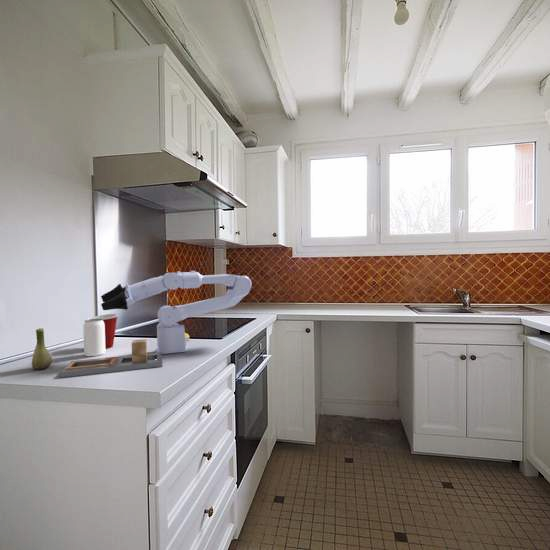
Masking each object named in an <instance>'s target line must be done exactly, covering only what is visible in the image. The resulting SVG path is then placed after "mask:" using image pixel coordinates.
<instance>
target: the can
mask: <svg viewBox="0 0 550 550" xmlns="http://www.w3.org/2000/svg"><path fill="white" fill-rule="evenodd" d="M82 328H83V332H82V333H83V353H84V356H85V357H86V356H87V357H88V358H92V357H91V356H94V357H99V355H100V356H102V355H105V353H106V352H107V351H106V349H107V348H106V349H105V324H104V322H103V319H89V320H87V319H85V320H84V323H83V325H82Z"/></svg>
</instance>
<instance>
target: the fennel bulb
mask: <svg viewBox="0 0 550 550" xmlns="http://www.w3.org/2000/svg"><path fill="white" fill-rule="evenodd" d="M35 333H36V344H35V347H34V351H33V354H32V358H31V368H32V369H33V370H40V369H41V370H44V369H47V368H48V367H50V366H51V365H52V362H53V358H52V356H51V354H50V352H49V350H48V349H47V347H46V345H45V333H44V328H43V327H41V328H37V329H36V330H35Z"/></svg>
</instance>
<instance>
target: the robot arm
mask: <svg viewBox="0 0 550 550" xmlns="http://www.w3.org/2000/svg"><path fill="white" fill-rule="evenodd" d="M124 284H125V285H123V287H122V284H121V283H119V284H117V285H116V286H115V287H114V288H113V289H111V290H109V291H107V292H106V293H103V294H102V295H100V298H101V300H102V303H101V308H102V310H103V311H110V310H129V306H131V305H135V302H137V301H138V302H139V301H141V300H143V299H144V300H145V299H147V298H150V297H153V296H156V295H159V294H162V292H166V291H168V290H173V291H175V290H177V289H178V288H180V289H182V290H183V289H198V288H200V287H201V286H202V285H205V284H206V285H207V284H209V285H215V284H216V285H217V284H219V285H220V284H222V285H225V286H226V287H228V288H227V290H226V292H225V294H224V295H221V296H215V297H212V298H207V299H204V300H198V301H194V302H190V303H186V304H181V305H174V306H171V305H162V306H161V307H159V309H158V310H157V313H156V314H157V315H156V316H157V319H158V321H159V322H158V324H156V346H157V348H156V352H155V353H159V352H162V355H165V354H177V353H186V346H187V341H185V333H186V332H185V331H186V329H185V325H184V324H179V322H181V321H182V322H183V320H185V319H188V318H191V317H196V316H199V315H203V314H209V313H212V312H217V311H220V310H224V309H229V308H233V307H235V306H236V305H238V303H240V301H241V300H242V299H244V297H246V296H247V295H249V293H250V291H251V289H252V284H253V283H252V280H251V279H250V277H249V276H247V275H237V274H231V273H230V274H229V273H222V274H220V273H219V274H208V275H207V274H205V275H202V274H200V272H198V271H196V270H190V271H188V272H185V271H184V272H181V271H180V270H179V271H176V272H166V273H165V274H163V275H159V276H158V277H155V276H154V277H151V278H149V279H146V280H143V281H139V282H136V283H133V284H130V285H129V283H128V282H125V283H124Z"/></svg>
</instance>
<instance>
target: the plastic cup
mask: <svg viewBox="0 0 550 550" xmlns="http://www.w3.org/2000/svg"><path fill="white" fill-rule="evenodd" d="M118 317H119V314H118V313H108V314H107V313H106V314H100V315H95V316H90V317H88V318H86V320H89V319H103V322H104V324H105V349H110V348H113V347H114V343H115V342H114V341H115V336H116V328H117V321H118Z"/></svg>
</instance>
